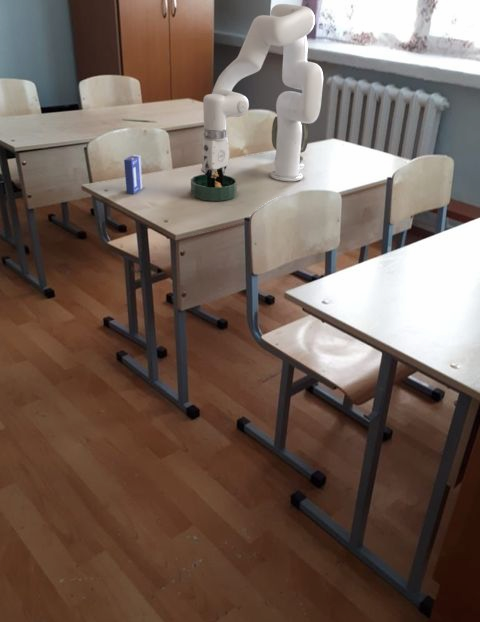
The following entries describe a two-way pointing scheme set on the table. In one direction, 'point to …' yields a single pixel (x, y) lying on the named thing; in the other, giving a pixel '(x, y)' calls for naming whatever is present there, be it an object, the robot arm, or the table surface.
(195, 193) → the bowl
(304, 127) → the tabletop clock
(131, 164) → the walkman
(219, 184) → the figurine
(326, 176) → the table surface
